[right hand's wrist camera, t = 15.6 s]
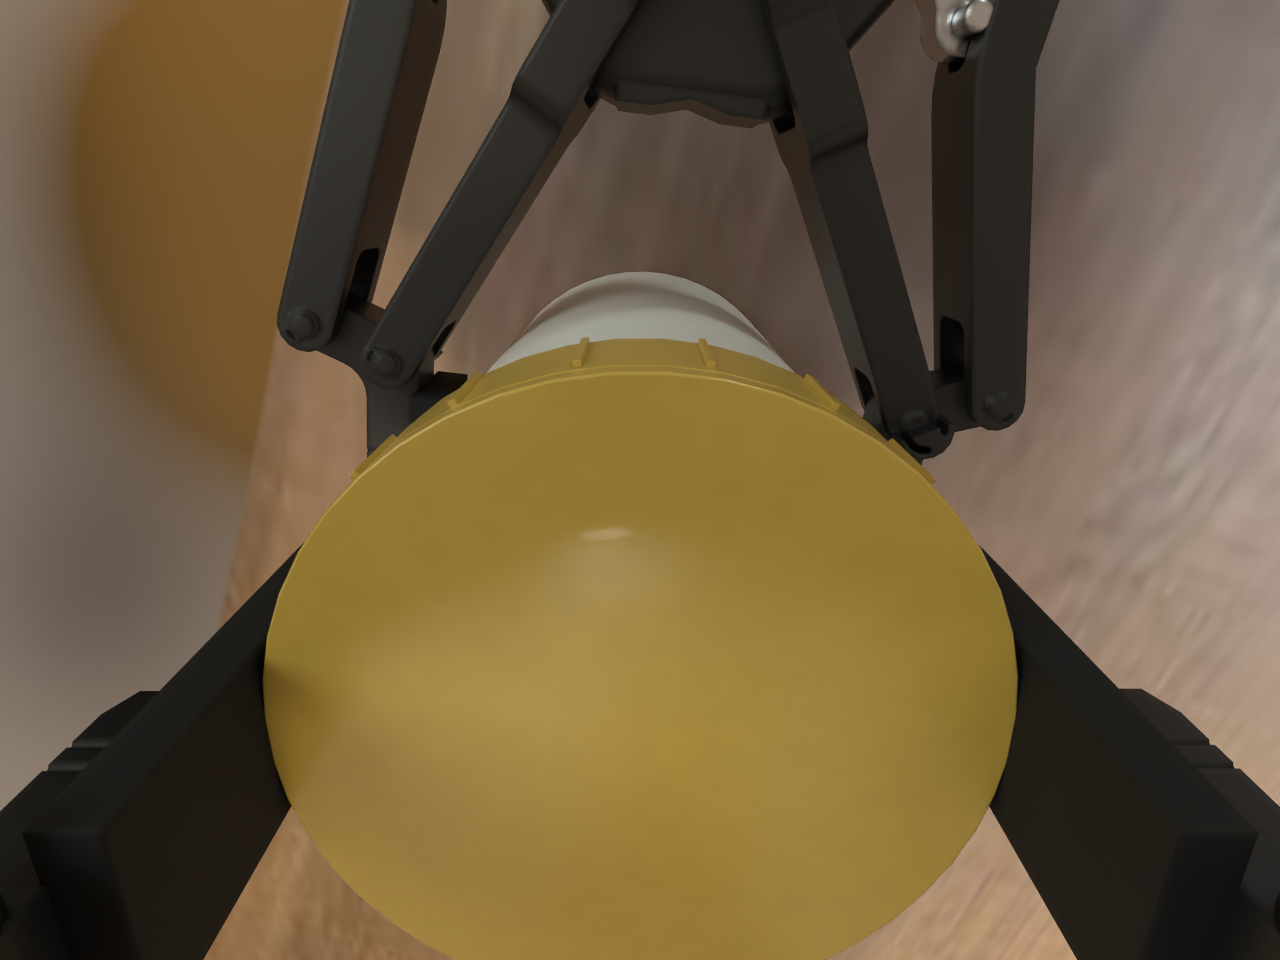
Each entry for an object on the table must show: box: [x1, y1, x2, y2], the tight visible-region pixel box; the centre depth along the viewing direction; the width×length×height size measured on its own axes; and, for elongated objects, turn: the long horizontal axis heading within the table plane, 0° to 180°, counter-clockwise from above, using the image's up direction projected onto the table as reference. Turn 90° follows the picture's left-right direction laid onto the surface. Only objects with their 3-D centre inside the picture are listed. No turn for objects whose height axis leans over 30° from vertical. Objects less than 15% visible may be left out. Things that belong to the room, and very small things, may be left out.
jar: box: [487, 272, 795, 373], centre depth 18 cm, size 10×10×16 cm
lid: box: [263, 337, 1018, 960], centre depth 11 cm, size 10×10×2 cm
